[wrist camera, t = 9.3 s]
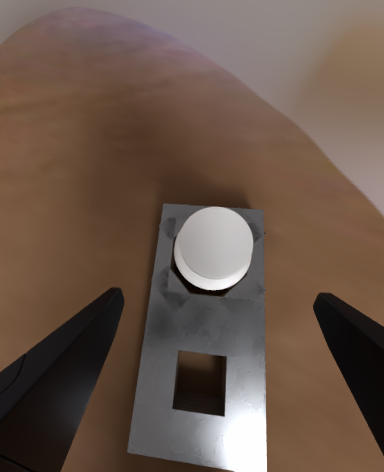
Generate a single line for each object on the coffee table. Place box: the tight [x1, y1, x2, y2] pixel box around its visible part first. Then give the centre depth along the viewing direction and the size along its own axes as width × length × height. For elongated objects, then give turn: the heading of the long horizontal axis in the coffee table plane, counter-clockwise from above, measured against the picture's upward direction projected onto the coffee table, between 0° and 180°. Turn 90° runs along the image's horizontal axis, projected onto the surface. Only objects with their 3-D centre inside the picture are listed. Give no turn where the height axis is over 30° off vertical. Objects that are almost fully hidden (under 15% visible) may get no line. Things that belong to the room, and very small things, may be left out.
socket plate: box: [127, 204, 266, 472], centre depth 16 cm, size 20×10×2 cm, turn 175°
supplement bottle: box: [174, 207, 253, 290], centre depth 14 cm, size 5×5×10 cm
